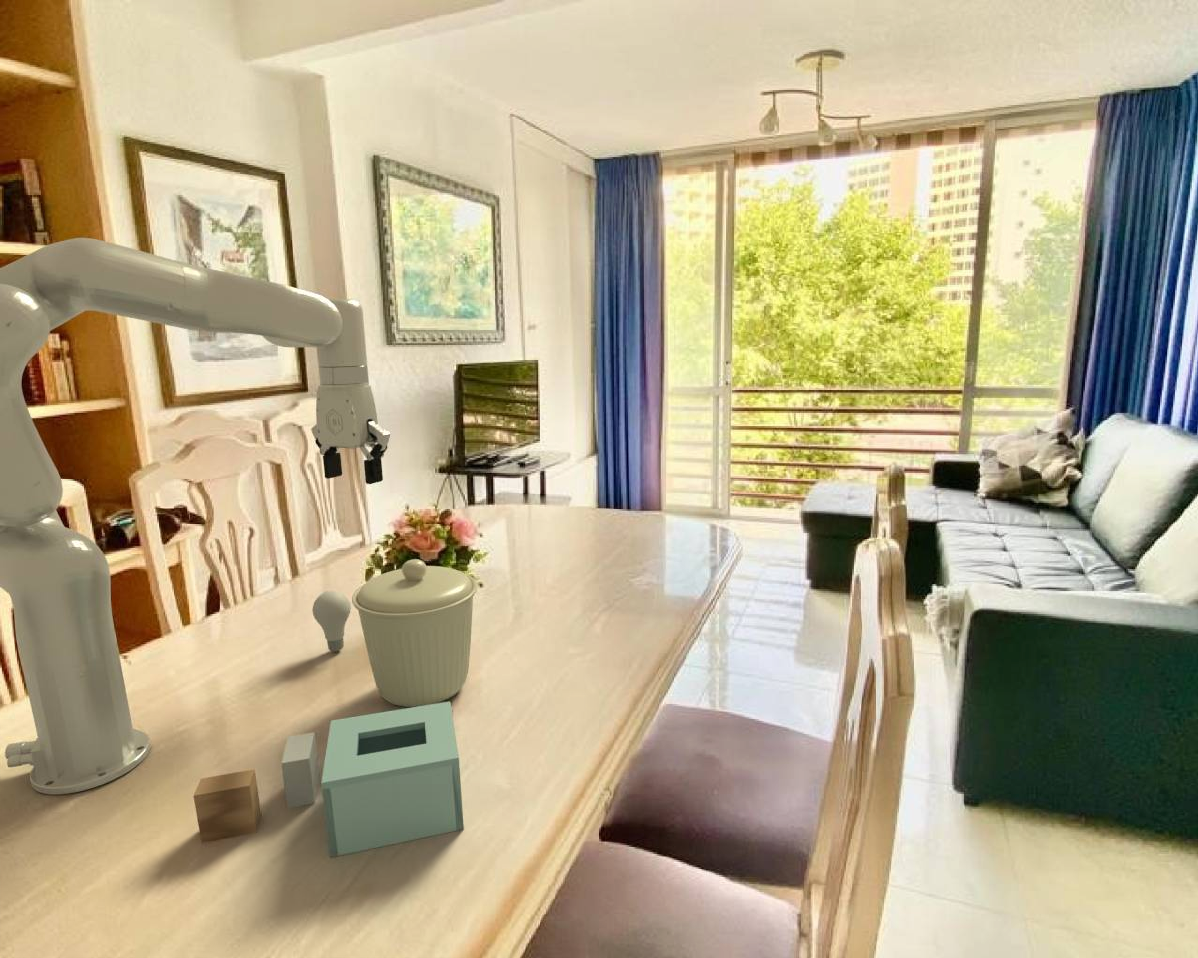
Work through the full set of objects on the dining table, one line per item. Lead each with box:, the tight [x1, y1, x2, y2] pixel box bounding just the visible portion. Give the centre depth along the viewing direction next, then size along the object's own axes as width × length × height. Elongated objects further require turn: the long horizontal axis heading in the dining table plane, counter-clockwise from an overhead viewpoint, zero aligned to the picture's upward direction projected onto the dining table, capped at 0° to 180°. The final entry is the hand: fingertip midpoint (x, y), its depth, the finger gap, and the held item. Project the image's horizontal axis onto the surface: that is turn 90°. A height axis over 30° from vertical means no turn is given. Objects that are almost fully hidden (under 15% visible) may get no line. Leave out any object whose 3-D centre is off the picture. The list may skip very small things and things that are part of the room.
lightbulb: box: [312, 590, 352, 653], centre depth 118 cm, size 6×6×11 cm
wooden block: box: [193, 768, 262, 844], centre depth 77 cm, size 6×3×6 cm, turn 106°
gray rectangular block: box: [280, 732, 320, 809], centre depth 83 cm, size 6×3×6 cm, turn 16°
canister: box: [351, 558, 478, 708], centre depth 104 cm, size 18×18×21 cm
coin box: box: [320, 701, 465, 858], centre depth 80 cm, size 14×12×9 cm
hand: (353, 479), depth 116 cm, fingers open, 9 cm apart
